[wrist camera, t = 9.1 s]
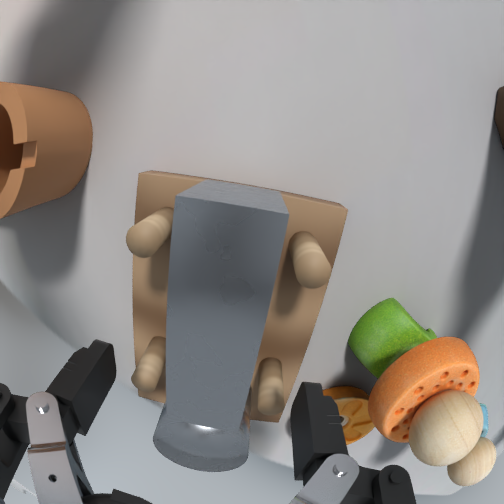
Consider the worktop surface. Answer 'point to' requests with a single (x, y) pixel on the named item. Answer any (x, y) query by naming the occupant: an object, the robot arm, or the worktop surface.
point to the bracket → (40, 145)
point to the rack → (282, 301)
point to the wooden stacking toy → (418, 394)
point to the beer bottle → (500, 113)
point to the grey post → (217, 319)
